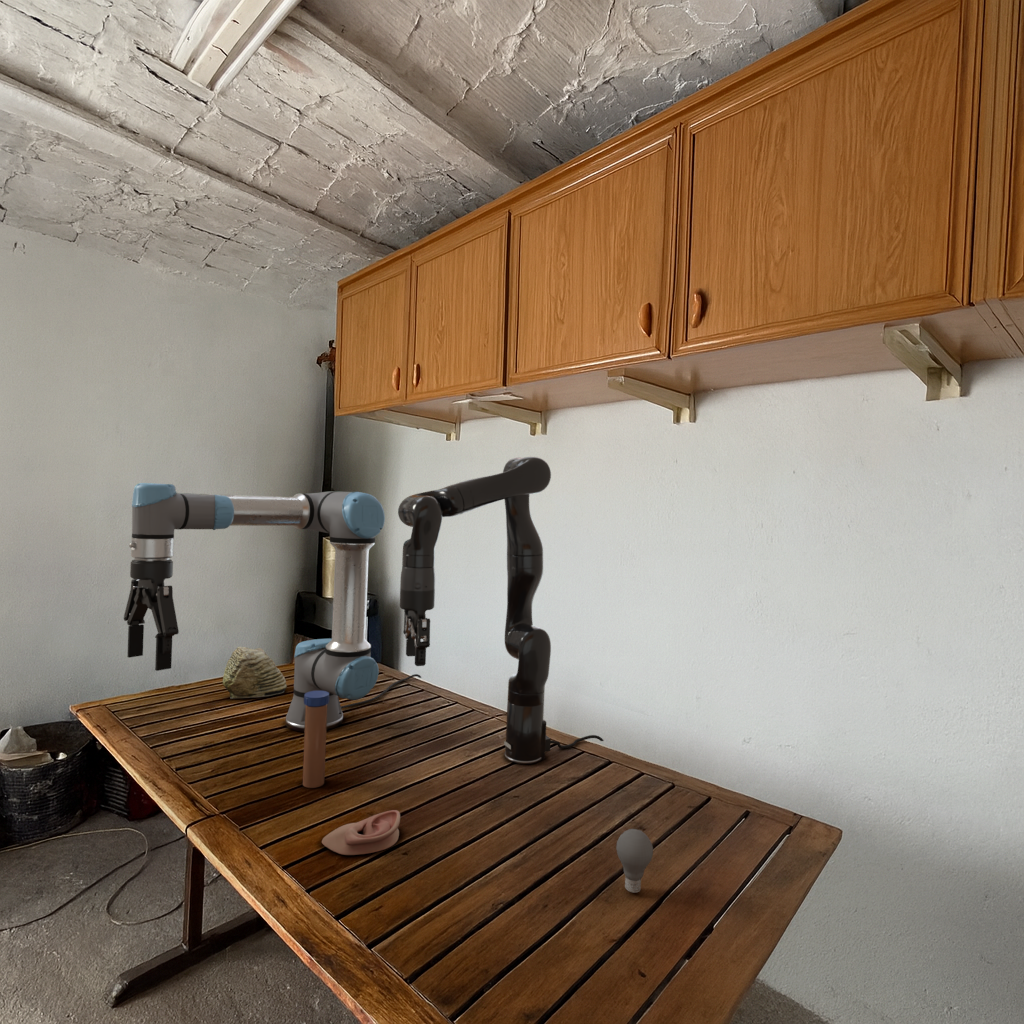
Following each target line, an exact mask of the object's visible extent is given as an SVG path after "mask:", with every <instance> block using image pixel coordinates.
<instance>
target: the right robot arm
mask: <svg viewBox="0 0 1024 1024" xmlns="http://www.w3.org/2000/svg"><path fill="white" fill-rule="evenodd" d="M551 480H552V470H551V467H550V465H549V463H548V462H547V461H546V460H544V459H543V458H541V457H538V456H518V457H516V456H515V457H512V458H509V459H508V460H507V461H506V463H505V464H504V466H503V469H502V472H500V473H495V474H490V475H486V476H480V477H476V478H470V479H465V480H463V481H459V482H456V483H453V484H450V485H447V486H444V487H442V488H438V489H433V490H428V491H424V492H419V493H418V492H417V493H414V494H411V495H408V496H407V497H405V498H404V499H403V500H402V501H401V502H400V504H399V505H398V509H397V514H398V515H397V516H398V518H399V520H400V522H402V524H404V525H406V527H409V528H412V530H411V535H410V538H409V539H407V540H405V541H404V543H403V545H402V557H401V558H402V560H401V561H402V562H401V572H400V585H399V608H400V609H402V610H404V611H403V613H404V615H403V616H404V617H403V632H402V633H403V635H404V638H405V655H406V656H407V657H414V665H415V666H416V667H424V666H425V665H426V664H427V663H426V662H427V660H426V659H427V649H428V648H430V647H431V618H428V617H427V616H426V612H427V611H431V610H433V609H434V608H435V602H436V601H435V599H436V571H435V569H436V568H435V561H436V560H435V559H436V546H437V542H438V541H439V535H440V531H441V528H442V522H443V518H453V517H457V516H460V515H463V514H465V513H468V512H471V511H474V510H476V509H479V508H482V507H485V506H488V505H491V504H494V503H496V502H500V501H504V507H505V508H504V509H505V524H506V525H505V529H506V614H505V626H504V647H505V650H506V652H507V654H508V655H509V656H510V657H511V658H513V659H516V660H517V661H518V664H517V672H516V673H513V674H511V675H510V676H509V677H508V681H507V703H506V704H507V705H506V706H507V707H506V725H505V726H506V727H505V740H504V741H503V745H504V746H505V747H504V751H505V752H504V758H505V759H506V760H507V761H508V762H511V763H515V764H520V765H532V764H537V763H539V762H541V761H542V760H546V752H551V747H552V745H551V744H553V745H557V747H558V748H559V749H562V750H564V749H565V750H566V749H569V748H572V747H575V746H576V745H577V744H578V743H580V742H582V741H586V740H589V739H596V740H599V741H600V742H604V738H602V737H601V736H599V735H596V734H590V735H585V736H582V737H579V738H577V739H574V741H573V742H572V743H569V744H565V745H561V743H560V742H559V741H557V740H551V737H549V736H548V735H547V721H546V720H545V719H544V715H545V714H544V713H545V712H544V711H545V691H546V684H547V682H548V678H549V675H550V665H551V654H552V643H551V638H550V636H549V633H548V632H547V631H546V630H545V629H543V628H541V627H538V626H536V625H534V621H533V603H534V598H535V595H536V593H537V591H538V588H539V586H540V584H541V581H542V579H543V575H544V546H543V542H542V539H541V536H540V533H539V532H538V529H537V527H536V525H535V522H534V520H533V518H532V514H531V507H530V495H535V494H539V493H540V494H541V492H544V491H545V490H546V489H547V488H548V486H549V485H550V482H551ZM422 640H423V641H422Z"/></svg>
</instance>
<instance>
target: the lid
mask: <svg viewBox="0 0 1024 1024" xmlns="http://www.w3.org/2000/svg"><path fill="white" fill-rule="evenodd" d="M329 698H330V696H329V692H327V691H310V692H307V693H305V695H304V704H305V705H307V706H311V707H318V706H324V705H327V704H328V703H329Z"/></svg>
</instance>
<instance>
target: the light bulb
mask: <svg viewBox="0 0 1024 1024" xmlns="http://www.w3.org/2000/svg"><path fill="white" fill-rule="evenodd" d="M615 849H616V854H617V857H618V859H619V861H620V863H621V865H622V867H623V873H624V874H623V875H624V876H625V878H624V888H625V890H627V891H628V892H630V893H634V894H635V893H639V892H640V891H641V889H642V887H641V886H642V879H643V877H644V875H645V871H646V868H647V867H648V866H649V864H650V863H651V861H652V859H653V855H654V847H653V843H652V841H651V838H649V836H648V835H647V834H646V833H645V832H643V831H642V830H641V829H636V828H629V829H627V830H625V831H623V832H622V833H621V834H620V835H619V837H618V839H617V841H616V847H615Z"/></svg>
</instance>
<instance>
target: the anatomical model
mask: <svg viewBox="0 0 1024 1024" xmlns="http://www.w3.org/2000/svg"><path fill="white" fill-rule="evenodd" d="M400 823H401V813H400V811H399V810H397V809H392V810H391V809H390V810H387V811H383V812H380V813H377V814H373V815H371V816H369V817H367V818H365V819H362V820H360V821H356V822H349V823H346V824H344V825H341V826H339V827H337V828H335V829H334V830H332V831H331V832H329V833H328V834H326V835H325V836H324V837H323V838H322V840H321V844H322V845H323V846H324V847H325V848H327V849H328V850H330V851H332V852H334V853H337V854H339V855H342V856H356V855H357V856H358V855H366V854H371V853H378V852H382V851H383V850H386V849H388V848H390V847H392V846H394V845H395V844H396V843H397V842H398V840H399V836H400V830H399V827H400Z"/></svg>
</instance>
